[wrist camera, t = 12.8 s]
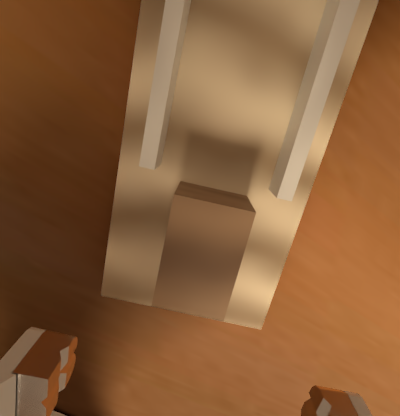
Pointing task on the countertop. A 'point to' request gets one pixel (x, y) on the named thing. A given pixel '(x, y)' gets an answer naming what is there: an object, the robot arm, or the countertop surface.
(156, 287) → the walnut block
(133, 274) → the board
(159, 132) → the channel walls
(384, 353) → the countertop surface
